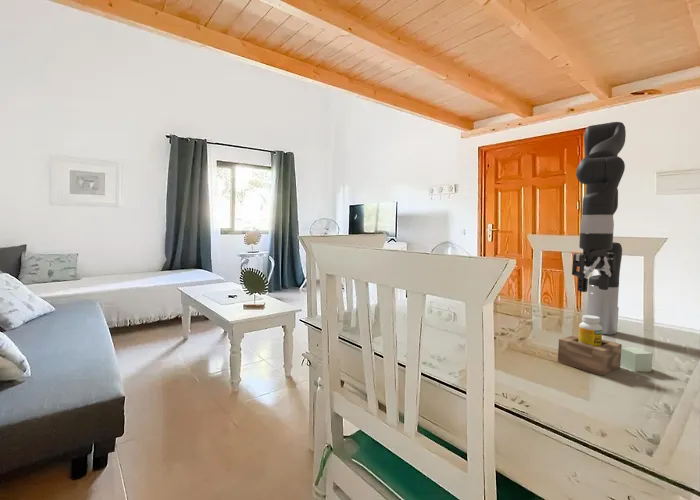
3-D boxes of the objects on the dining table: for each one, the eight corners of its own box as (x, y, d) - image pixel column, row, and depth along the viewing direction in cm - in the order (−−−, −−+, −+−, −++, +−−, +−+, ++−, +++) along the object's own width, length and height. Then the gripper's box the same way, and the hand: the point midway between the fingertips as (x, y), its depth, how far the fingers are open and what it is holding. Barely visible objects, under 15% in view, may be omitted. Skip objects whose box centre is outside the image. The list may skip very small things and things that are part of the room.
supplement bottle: (583, 346, 104) (585, 313, 104) (604, 351, 100) (606, 317, 99) (574, 349, 101) (576, 315, 101) (595, 355, 97) (597, 320, 96)
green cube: (634, 364, 102) (635, 347, 101) (651, 371, 97) (652, 353, 96) (618, 364, 101) (619, 347, 101) (634, 372, 96) (635, 353, 96)
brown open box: (577, 354, 108) (578, 333, 108) (620, 367, 99) (621, 344, 99) (557, 361, 103) (558, 339, 102) (600, 375, 93) (602, 351, 93)
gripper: (599, 231, 104) (596, 286, 106) (565, 231, 99) (562, 289, 100) (628, 232, 97) (624, 291, 99) (592, 232, 92) (588, 294, 93)
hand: (592, 290), depth 99 cm, fingers open, 8 cm apart
